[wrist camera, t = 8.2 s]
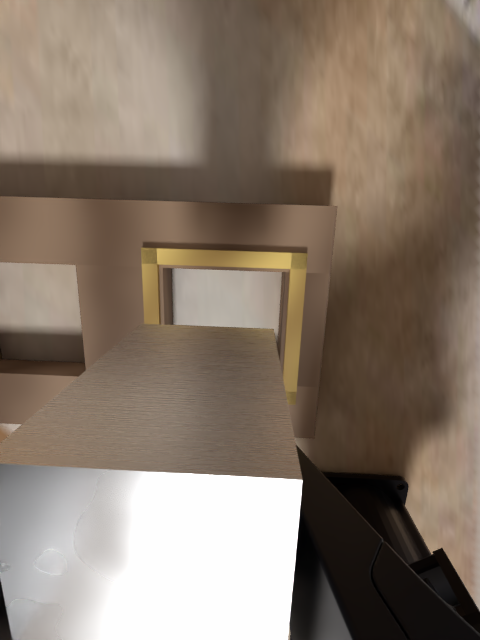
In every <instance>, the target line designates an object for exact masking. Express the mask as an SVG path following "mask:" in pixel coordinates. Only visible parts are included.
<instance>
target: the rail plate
mask: <svg viewBox="0 0 480 640" xmlns="http://www.w3.org/2000/svg"><path fill="white" fill-rule="evenodd" d="M336 215H337V206H316V205H282V204H248V203H214V202H179V201H145V200H111V199H77V198H43V197H9V196H0V262H11V263H40V264H69V265H76V273H77V283H78V294H79V304H80V315H81V325H82V335H83V346H84V356H85V363H77V362H54V361H31V360H8V359H2V356H1V350H0V423H7V424H23V423H24V422H26V421H27V420H28V419H29V418H30V417H32V416H33V415H34V414H35V413H36V412H37V411H39V410H40V409H41V408H42V407H43V406H45V405H46V404H47V403H48V402H49V401H50V400H52V399H53V398H54V397H55V396H56V395H58V394H59V393H60V392H61V391H62V390H63V389H65V388H66V387H67V386H68V385H69V384H70V383H72V382H73V381H74V380H75V379H76V378H78V377H79V376H80V375H81V374H82V373H83V372H85V371H86V370H87V369H88V368H89V367H91V366H92V365H93V364H94V363H95V362H96V361H98V360H99V359H100V358H101V357H102V356H104V355H105V354H106V353H107V352H108V351H109V350H111V349H112V348H113V347H114V346H115V345H117V344H118V343H119V342H120V341H121V340H122V339H124V338H125V337H126V336H127V335H128V334H129V333H131V332H132V331H133V330H134V329H135V328H137V327H138V326H139V325H140V324H163V325H173V307H172V268H183V269H212V270H240V271H269V272H282V285H281V301H280V317H279V333H278V349H277V350H278V355H279V360H280V365H281V371H282V376H283V381H284V386H285V391H286V397H287V402H288V407H289V412H290V417H291V422H292V428H293V433H294V437H296V438H314V435H315V425H316V415H317V405H318V395H319V385H320V375H321V365H322V355H323V345H324V335H325V325H326V315H327V305H328V295H329V285H330V275H331V265H332V255H333V245H334V235H335V225H336Z"/></svg>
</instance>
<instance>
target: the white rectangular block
mask: <svg viewBox="0 0 480 640" xmlns="http://www.w3.org/2000/svg"><path fill="white" fill-rule="evenodd" d="M302 481H303V479H302V474H301V469H300V464H299V459H298V454H297V448H296V443H295V438H294V433H293V428H292V422H291V417H290V412H289V407H288V402H287V397H286V391H285V386H284V381H283V376H282V371H281V365H280V360H279V355H278V350H277V345H276V340H275V334H274V329H260V328H236V327H211V326H187V325H163V324H140V325H139V326H138V327H137V328H135V329H134V330H133V331H132V332H131V333H129V334H128V335H127V336H126V337H125V338H124V339H122V340H121V341H120V342H119V343H118V344H117V345H115V346H114V347H113V348H112V349H111V350H109V351H108V352H107V353H106V354H105V355H104V356H102V357H101V358H100V359H99V360H98V361H96V362H95V363H94V364H93V365H92V366H91V367H89V368H88V369H87V370H86V371H85V372H83V373H82V374H81V375H80V376H79V377H78V378H76V379H75V380H74V381H73V382H72V383H70V384H69V385H68V386H67V387H66V388H65V389H63V390H62V391H61V392H60V393H59V394H58V395H56V396H55V397H54V398H53V399H52V400H50V401H49V402H48V403H47V404H46V405H45V406H43V407H42V408H41V409H40V410H39V411H37V412H36V413H35V414H34V415H33V416H32V417H30V418H29V419H28V420H27V421H26V422H24V423H23V424H22V425H21V426H20V427H19V428H17V429H16V430H15V431H14V432H13V433H11V434H10V435H9V436H8V437H7V438H6V439H4V440H3V441H2V442H1V443H0V580H1V585H2V590H3V595H4V600H5V605H6V610H7V615H8V621H9V626H10V631H11V636H12V640H288V631H289V620H290V609H291V599H292V588H293V577H294V567H295V556H296V545H297V534H298V524H299V513H300V502H301V492H302Z"/></svg>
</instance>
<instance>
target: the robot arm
mask: <svg viewBox="0 0 480 640" xmlns="http://www.w3.org/2000/svg"><path fill="white" fill-rule="evenodd" d="M296 448H297V454H298V459H299V464H300V469H301V474H302V479H303V481H302V492H301V502H300V513H299V524H298V534H297V545H296V556H295V567H294V577H293V588H292V599H291V609H290V620H289V626H290V632H291V635H290V640H480V611H479V609H478V607H477V606H476V604H475V602H474V601H473V599H472V597H471V596H470V594H469V592H468V591H467V589H466V587H465V585H464V584H463V582H462V580H461V579H460V577H459V575H458V574H457V572H456V570H455V569H454V567H453V565H452V564H451V562H450V560H449V559H448V557H447V555H446V553H445V552H444V550H443V548H441V549H438V550H436V551H433V554H432V555H431V553H430V551H429V549H428V547H427V546H426V544H425V542H424V540H423V538H422V536H421V535H420V533H419V531H418V529H417V527H416V525H415V524H414V522H413V520H412V518H411V516H410V514H409V513H408V511H407V509H406V507H405V502H406V497H407V492H408V484H407V482H406V480H405V479H404V478H403V477H401V476H385V475H366V474H346V473H327V472H321V471H320V470H319V469H318V468H317V467H316V466H315V465H314V464H313V463H312V462H311V460H310V459H309V458H308V457H307V456H306V455H305V454H304V453H303V452H302V451H301V450H300V449H299V448H298V446H297V445H296ZM398 484H401V485H399V486H397V485H398ZM0 640H12V636H11V631H10V626H9V621H8V615H7V610H6V605H5V600H4V595H3V590H2V585H1V580H0Z"/></svg>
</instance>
